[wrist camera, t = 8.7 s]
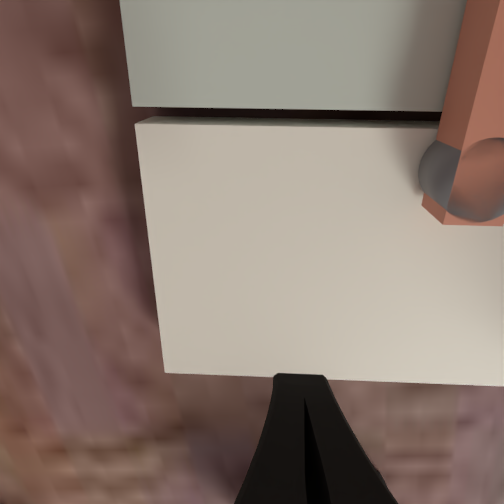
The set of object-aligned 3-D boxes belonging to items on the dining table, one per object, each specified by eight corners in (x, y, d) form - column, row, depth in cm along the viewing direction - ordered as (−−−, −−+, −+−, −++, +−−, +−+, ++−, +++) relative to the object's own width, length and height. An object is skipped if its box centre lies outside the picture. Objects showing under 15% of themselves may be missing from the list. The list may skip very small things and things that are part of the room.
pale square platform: (751, -320, 10) (1081, -584, 6) (493, 352, 21) (549, 424, 17) (111, -307, 11) (12, -540, 7) (175, 341, 22) (152, 407, 17)
